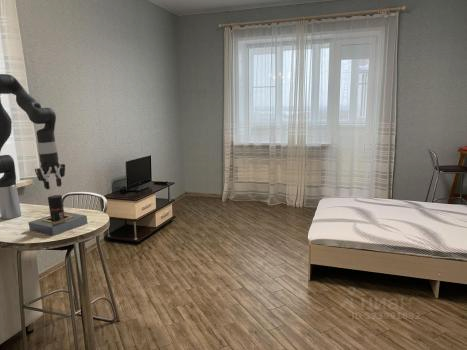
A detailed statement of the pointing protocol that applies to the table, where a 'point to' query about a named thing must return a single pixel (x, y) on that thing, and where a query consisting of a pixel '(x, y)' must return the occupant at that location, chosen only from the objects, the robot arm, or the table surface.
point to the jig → (57, 224)
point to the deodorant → (56, 207)
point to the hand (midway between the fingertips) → (53, 187)
